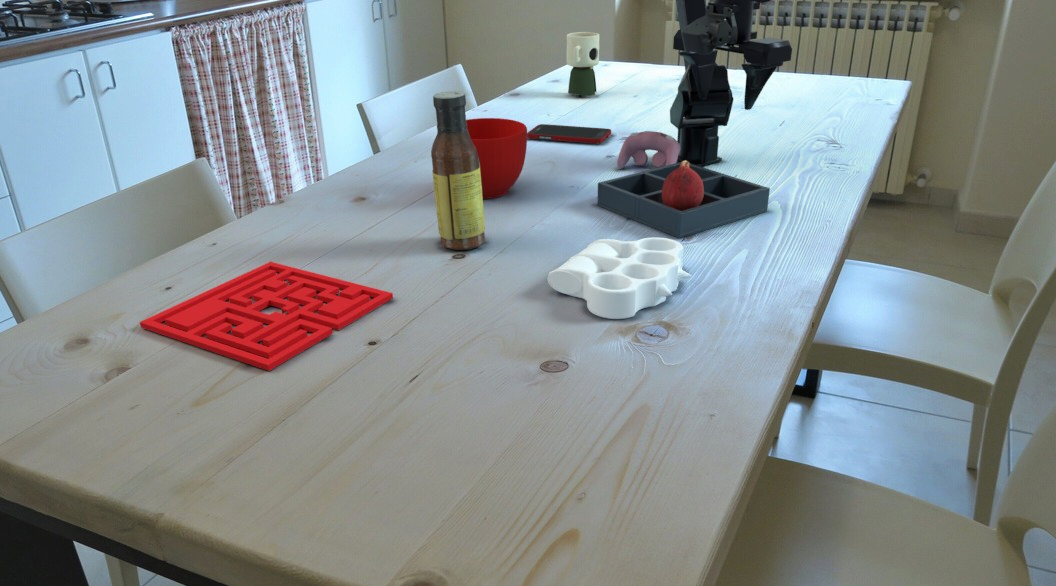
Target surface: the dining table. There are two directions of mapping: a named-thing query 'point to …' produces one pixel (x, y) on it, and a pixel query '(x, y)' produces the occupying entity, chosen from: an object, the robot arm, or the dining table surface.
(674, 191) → the onion
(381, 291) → the maze puzzle
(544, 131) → the cell phone
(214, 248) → the dining table surface
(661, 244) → the white brass knuckles
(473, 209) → the sauce bottle
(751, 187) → the grid
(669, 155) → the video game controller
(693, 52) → the robot arm
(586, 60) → the character mug
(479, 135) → the ceramic cup
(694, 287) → the dining table surface
